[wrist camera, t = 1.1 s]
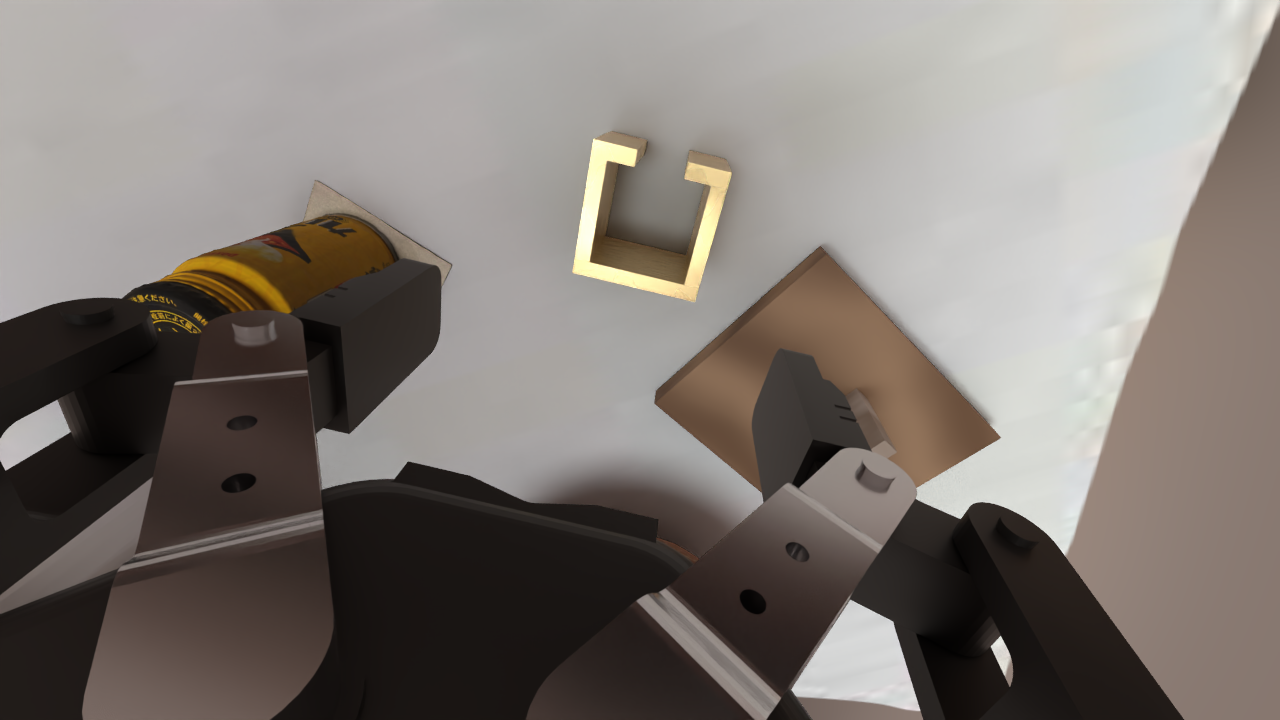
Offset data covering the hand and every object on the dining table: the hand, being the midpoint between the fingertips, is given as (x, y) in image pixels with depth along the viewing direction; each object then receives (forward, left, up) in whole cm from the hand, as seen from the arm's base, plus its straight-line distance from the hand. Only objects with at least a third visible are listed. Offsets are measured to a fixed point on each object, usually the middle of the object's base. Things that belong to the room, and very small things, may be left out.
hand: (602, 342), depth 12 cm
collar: (0, 0, -17) cm, 17 cm away
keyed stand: (-2, -16, -17) cm, 24 cm away
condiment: (-15, +10, -18) cm, 25 cm away
